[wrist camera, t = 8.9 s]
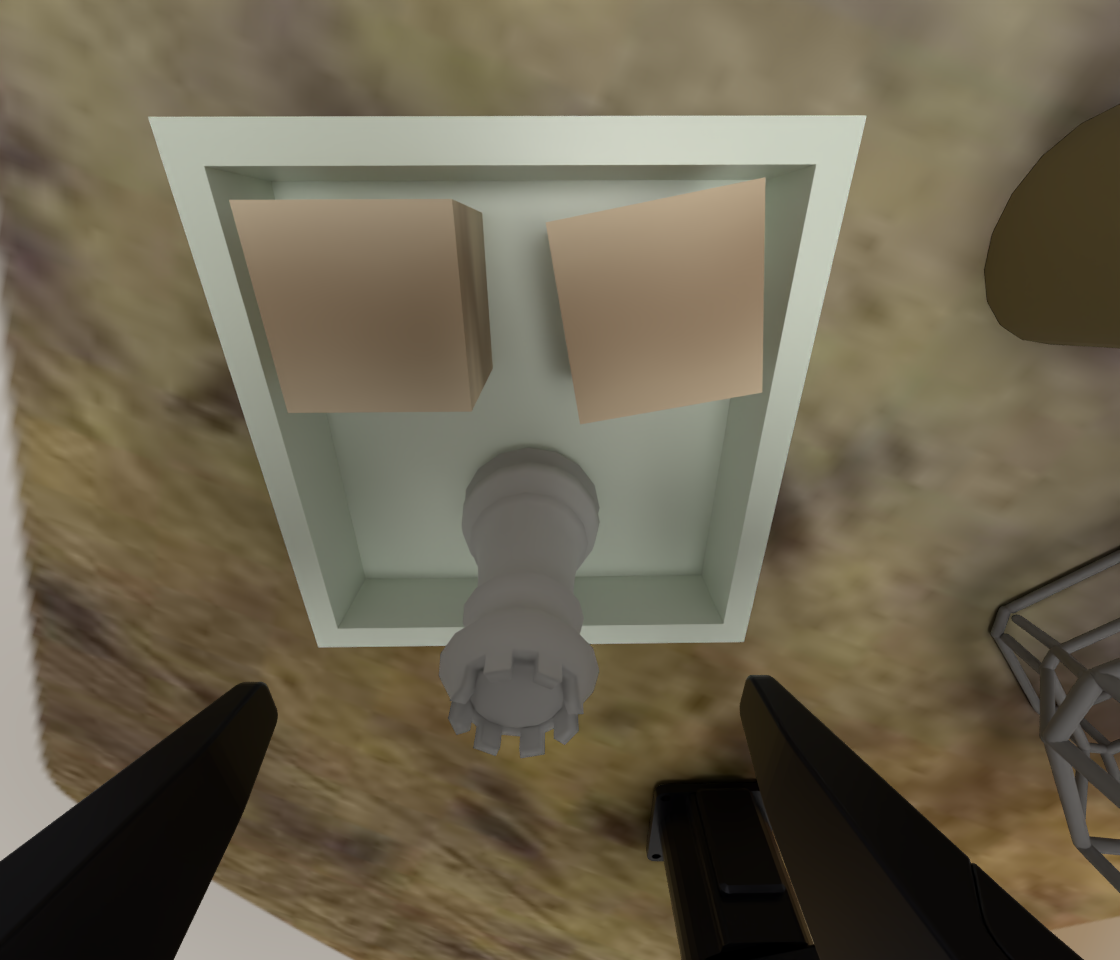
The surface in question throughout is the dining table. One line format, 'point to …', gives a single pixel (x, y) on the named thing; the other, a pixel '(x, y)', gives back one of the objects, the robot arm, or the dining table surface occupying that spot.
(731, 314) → the beech block
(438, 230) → the beech block
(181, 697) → the dining table surface
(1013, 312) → the cork
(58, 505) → the dining table surface
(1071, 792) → the geometric lantern
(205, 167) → the tray
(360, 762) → the dining table surface
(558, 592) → the rook chess piece
